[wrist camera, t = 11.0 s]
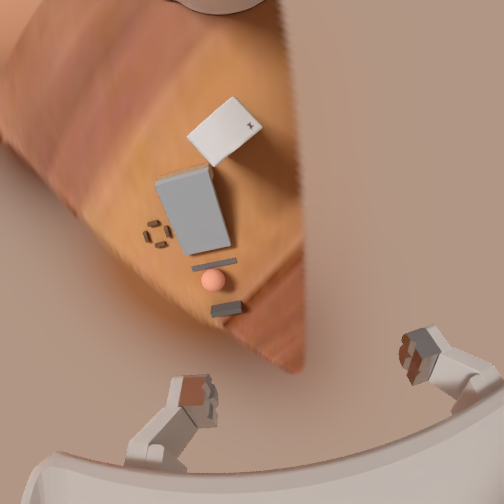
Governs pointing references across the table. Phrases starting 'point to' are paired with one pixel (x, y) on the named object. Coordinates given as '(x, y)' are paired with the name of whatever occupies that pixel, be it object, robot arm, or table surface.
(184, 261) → the table surface
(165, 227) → the stand
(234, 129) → the skincare box
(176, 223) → the ramp
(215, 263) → the line
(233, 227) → the table surface
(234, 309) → the rail
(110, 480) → the robot arm
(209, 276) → the ball
